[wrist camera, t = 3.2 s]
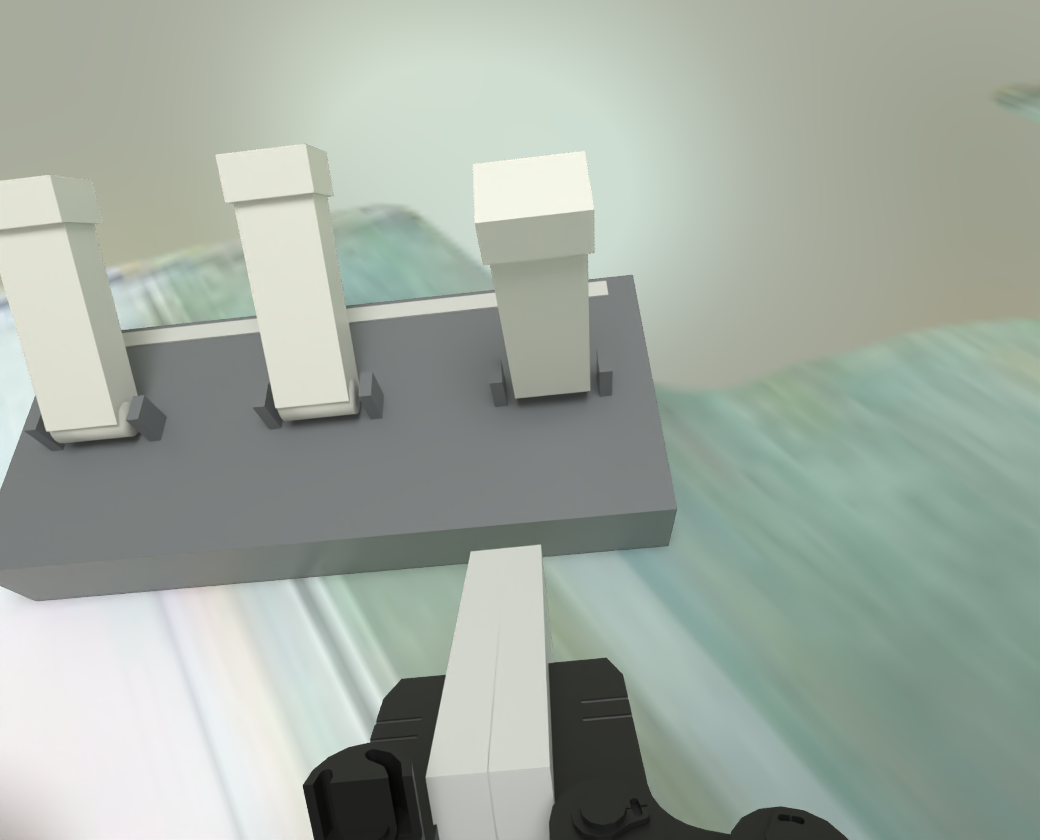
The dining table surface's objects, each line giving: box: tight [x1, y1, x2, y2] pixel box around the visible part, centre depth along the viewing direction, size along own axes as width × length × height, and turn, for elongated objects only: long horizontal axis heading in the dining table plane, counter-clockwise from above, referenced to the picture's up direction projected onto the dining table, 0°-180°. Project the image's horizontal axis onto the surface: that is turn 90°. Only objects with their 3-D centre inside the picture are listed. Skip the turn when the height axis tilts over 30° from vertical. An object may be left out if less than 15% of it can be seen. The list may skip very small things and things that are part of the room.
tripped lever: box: [473, 151, 594, 399], centre depth 29 cm, size 3×4×12 cm
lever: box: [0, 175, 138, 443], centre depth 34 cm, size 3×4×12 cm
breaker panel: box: [0, 275, 677, 601], centre depth 36 cm, size 14×33×7 cm, turn 93°
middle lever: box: [216, 144, 360, 421], centre depth 33 cm, size 3×4×12 cm
